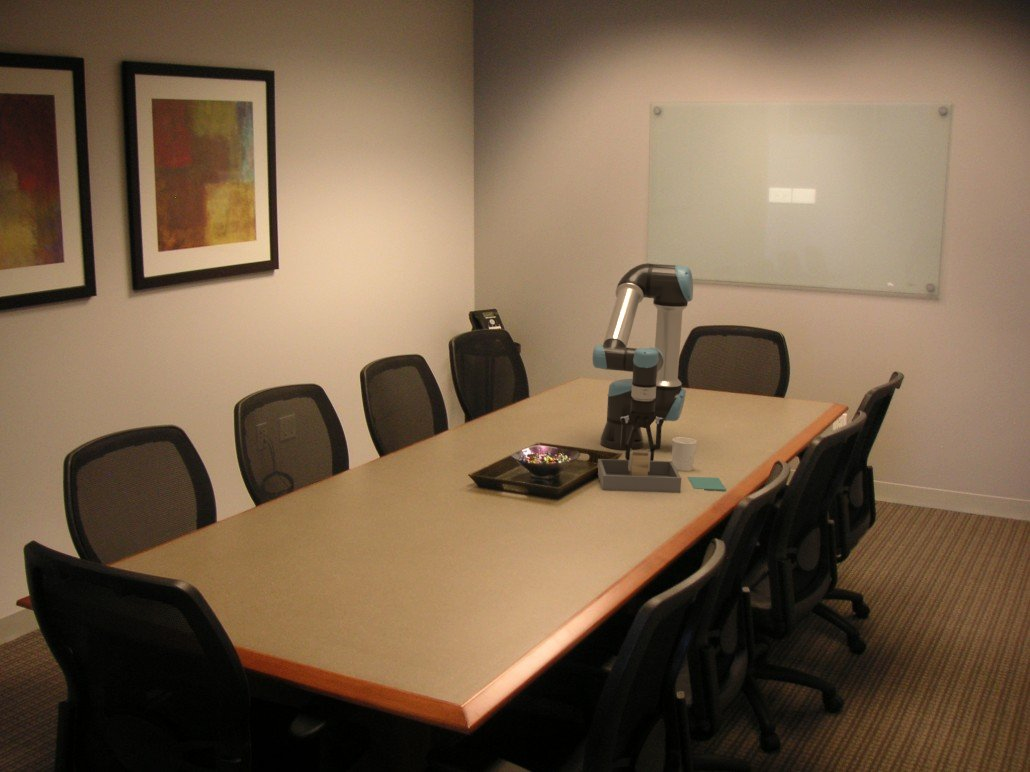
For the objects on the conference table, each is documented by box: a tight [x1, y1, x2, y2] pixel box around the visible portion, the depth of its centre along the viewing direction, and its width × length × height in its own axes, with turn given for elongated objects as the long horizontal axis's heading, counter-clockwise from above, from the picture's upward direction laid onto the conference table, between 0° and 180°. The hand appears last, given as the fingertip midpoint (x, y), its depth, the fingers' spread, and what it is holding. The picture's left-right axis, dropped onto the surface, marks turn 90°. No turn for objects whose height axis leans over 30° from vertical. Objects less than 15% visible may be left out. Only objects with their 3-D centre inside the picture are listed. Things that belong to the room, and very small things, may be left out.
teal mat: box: [687, 476, 727, 492], centre depth 348 cm, size 12×10×1 cm
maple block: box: [630, 451, 649, 476], centre depth 345 cm, size 5×5×7 cm
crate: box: [597, 458, 682, 493], centre depth 346 cm, size 18×24×5 cm
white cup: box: [671, 436, 697, 472], centre depth 362 cm, size 8×8×10 cm
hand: (638, 469), depth 346 cm, fingers closed on maple block, 5 cm apart
